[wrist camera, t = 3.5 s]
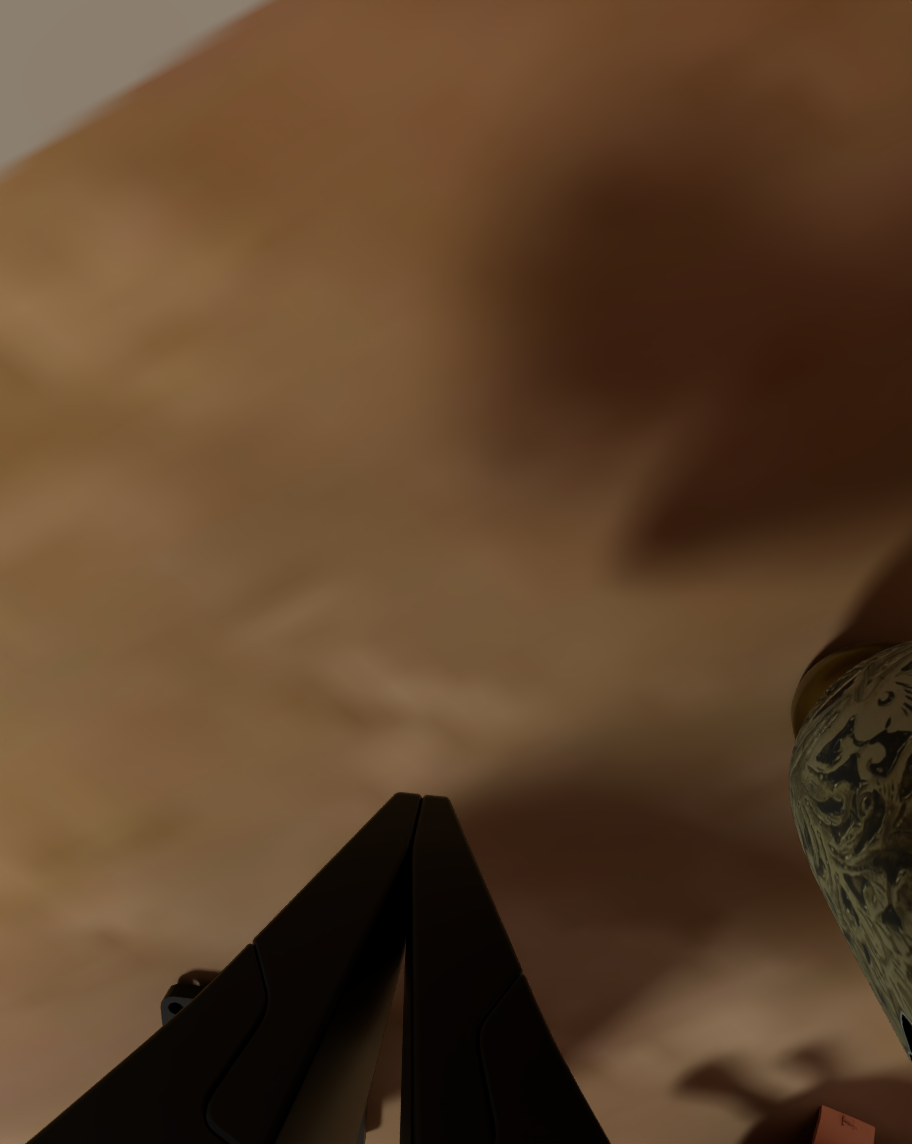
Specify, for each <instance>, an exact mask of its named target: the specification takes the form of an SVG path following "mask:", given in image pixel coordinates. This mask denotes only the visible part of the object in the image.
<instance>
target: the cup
mask: <svg viewBox="0 0 912 1144" xmlns="http://www.w3.org/2000/svg"><path fill="white" fill-rule="evenodd" d="M791 722H792V728H793V733H794V737H795V744H794V748H793V753H792V757H791V762H790V771H789V792H790V801H791V808H792V814H793V819H794V822H795V825H796V829H797V832H798V835H799V838H800V841H801V844H802V847H803V850H804V853H805V855H806V858H807V860H808V862H809V865H810V867H811V869H812V872H813V874H814V876H815V878H816V881H817V883H818V885H819V887H820V889H821V891H822V893H823V895H824V897H825V899H826V901H827V903H828V905H829V907H830V909H831V911H832V913H833V915H834V917H835V919H836V921H837V923H838V925H839V927H840V929H841V931H842V933H843V935H844V937H845V938H846V940H847V942H848V944H849V946H850V948H851V950H852V952H853V954H854V956H855V958H856V960H857V961H858V963H859V965H860V967H861V969H862V971H863V973H864V975H865V977H866V979H867V980H868V982H869V984H870V986H871V988H872V990H873V992H874V994H875V996H876V997H877V999H878V1001H879V1003H880V1005H881V1007H882V1009H883V1011H884V1012H885V1014H886V1016H887V1018H888V1020H889V1022H890V1024H891V1026H892V1027H893V1029H894V1031H895V1033H896V1035H897V1037H898V1039H899V1041H900V1042H901V1044H902V1046H903V1048H904V1050H905V1052H906V1054H907V1055H908V1057H909V1059H910V1061H911V1063H912V640H911V641H908V642H905V643H900V642H884V641H878V642H865V643H858V644H854V645H850V646H847V647H844V648H841V649H839V650H837V651H835V652H833V653H831V654H829V655H827V656H826V657H824V658H823V659H821V660H820V661H819V662H818V663H816V664H815V665H814V666H813V667H812V668H811V669H810V670H809V671H808V672H807V673H806V675H805V676H804V677H803V679H802V680H801V682H800V683H799V685H798V687H797V689H796V692H795V694H794V697H793V701H792V707H791Z"/></svg>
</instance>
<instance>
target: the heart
mask: <svg viewBox="0 0 912 1144" xmlns="http://www.w3.org/2000/svg"><path fill="white" fill-rule="evenodd" d="M874 1136H875V1127H874V1126H872V1125H869V1124H867V1123H865V1122H863V1121H860V1120H858V1119H856V1118H853V1117H851V1116H848V1115H846V1114H843V1113H841V1112H839V1111H836V1110H834V1109H831V1108H829V1107H826V1106H824V1105H822V1106H821V1107H820V1109H819V1116H818V1120H817V1124H816V1128H815V1132H814V1136H813V1140H812V1143H811V1144H874Z"/></svg>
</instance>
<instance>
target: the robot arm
mask: <svg viewBox="0 0 912 1144" xmlns="http://www.w3.org/2000/svg"><path fill="white" fill-rule="evenodd" d="M405 944H406V953H405V971H404V1007H403V1044H402V1081H401V1117H400V1144H611V1143H610V1141H609V1139H608V1138H607V1136H606V1134H605V1132H604V1131H603V1129H602V1127H601V1125H600V1123H599V1122H598V1120H597V1118H596V1116H595V1115H594V1113H593V1111H592V1109H591V1108H590V1106H589V1104H588V1102H587V1101H586V1099H585V1097H584V1095H583V1094H582V1092H581V1090H580V1088H579V1086H578V1084H577V1082H576V1081H575V1079H574V1077H573V1075H572V1073H571V1071H570V1069H569V1067H568V1066H567V1064H566V1062H565V1060H564V1058H563V1056H562V1054H561V1053H560V1051H559V1049H558V1047H557V1045H556V1043H555V1041H554V1039H553V1037H552V1034H551V1032H550V1030H549V1028H548V1026H547V1024H546V1022H545V1019H544V1017H543V1015H542V1013H541V1011H540V1009H539V1006H538V1004H537V1002H536V1000H535V997H534V995H533V993H532V990H531V988H530V986H529V983H528V981H527V979H526V977H525V976H524V975H523V970H522V968H521V965H520V963H519V961H518V958H517V956H516V954H515V951H514V949H513V947H512V944H511V942H510V940H509V937H508V935H507V933H506V930H505V928H504V926H503V923H502V921H501V919H500V916H499V914H498V912H497V909H496V907H495V905H494V902H493V900H492V898H491V895H490V893H489V891H488V888H487V886H486V883H485V881H484V879H483V876H482V874H481V872H480V869H479V867H478V865H477V862H476V860H475V858H474V855H473V853H472V851H471V848H470V846H469V844H468V841H467V839H466V837H465V834H464V832H463V830H462V827H461V825H460V823H459V820H458V818H457V816H456V813H455V811H454V809H453V806H452V804H451V802H450V800H449V798H447V797H444V796H434V795H425V796H424V797H423V798H422V797H421V795H420V794H414V793H404V792H398V793H396V794H394V795H393V796H392V798H391V799H390V800H389V801H388V802H387V803H386V804H385V805H384V806H383V807H382V808H381V809H380V810H379V811H378V812H377V813H376V814H375V815H374V816H373V817H372V818H371V819H370V820H369V821H368V822H367V823H366V824H365V825H364V826H363V827H362V828H361V829H360V830H359V831H358V832H357V833H356V834H355V836H354V837H353V838H352V839H351V840H350V841H349V842H348V843H347V844H346V845H345V846H344V847H343V848H342V849H341V850H340V851H339V852H338V853H337V854H336V855H335V856H334V857H333V858H332V859H331V860H330V861H329V862H328V863H327V864H326V865H325V866H324V867H323V868H322V869H321V870H320V871H319V872H318V874H317V875H316V876H315V877H314V878H313V879H312V880H311V881H310V882H309V883H308V884H307V885H306V886H305V887H304V888H303V889H302V890H301V891H300V892H299V893H298V894H297V895H296V896H295V897H294V898H293V899H292V900H291V901H290V902H289V903H288V904H287V905H286V906H285V907H284V908H283V909H282V910H281V912H280V913H279V914H278V915H277V916H276V917H275V918H274V919H273V920H272V921H271V922H270V923H269V924H268V925H267V926H266V927H265V928H264V929H263V930H262V931H261V932H260V933H259V934H258V935H257V936H256V937H255V938H254V940H253V944H248V945H247V946H246V947H245V948H244V949H243V950H242V951H241V952H240V953H239V954H238V955H237V956H236V957H235V958H234V959H233V960H232V961H231V962H230V964H229V965H228V966H227V967H225V968H224V969H223V970H222V971H221V972H220V973H219V974H218V975H217V976H216V977H215V978H214V979H213V980H212V981H211V982H210V983H209V984H208V985H207V986H206V987H204V986H196V985H188V984H175V985H173V986H171V987H170V988H169V990H168V991H167V993H166V995H165V997H164V998H163V1000H162V1002H161V1015H162V1024H163V1026H162V1027H161V1028H160V1029H159V1030H158V1031H157V1032H156V1033H154V1034H153V1035H152V1036H151V1037H150V1038H149V1039H148V1040H147V1041H145V1042H144V1043H143V1044H142V1045H141V1046H139V1047H138V1048H137V1049H136V1050H135V1051H134V1052H132V1053H131V1054H130V1055H129V1056H128V1057H127V1058H125V1059H124V1060H123V1061H122V1062H121V1063H120V1064H118V1065H117V1066H116V1067H115V1068H114V1069H113V1070H111V1071H110V1072H109V1073H108V1074H107V1075H106V1076H104V1077H103V1078H102V1079H101V1080H100V1081H99V1082H97V1083H96V1084H95V1085H94V1086H93V1087H91V1088H90V1089H89V1090H88V1091H87V1092H86V1093H84V1094H83V1095H82V1096H81V1097H80V1098H79V1099H77V1100H76V1101H75V1102H74V1103H73V1104H72V1105H70V1106H69V1107H68V1108H67V1109H66V1110H65V1111H63V1112H62V1113H61V1114H60V1115H59V1116H58V1117H56V1118H55V1119H54V1120H53V1121H52V1122H51V1123H49V1124H48V1125H47V1126H46V1127H45V1128H43V1129H42V1130H41V1131H40V1132H39V1133H38V1134H36V1135H35V1136H34V1137H33V1138H32V1139H30V1140H29V1141H28V1142H27V1143H25V1144H365V1139H366V1116H367V1098H368V1094H369V1090H370V1087H371V1083H372V1079H373V1075H374V1071H375V1067H376V1063H377V1059H378V1055H379V1051H380V1047H381V1043H382V1039H383V1035H384V1032H385V1028H386V1024H387V1020H388V1016H389V1012H390V1008H391V1004H392V1000H393V996H394V992H395V988H396V984H397V981H398V977H399V973H400V969H401V964H402V960H403V955H404V950H405Z"/></svg>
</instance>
